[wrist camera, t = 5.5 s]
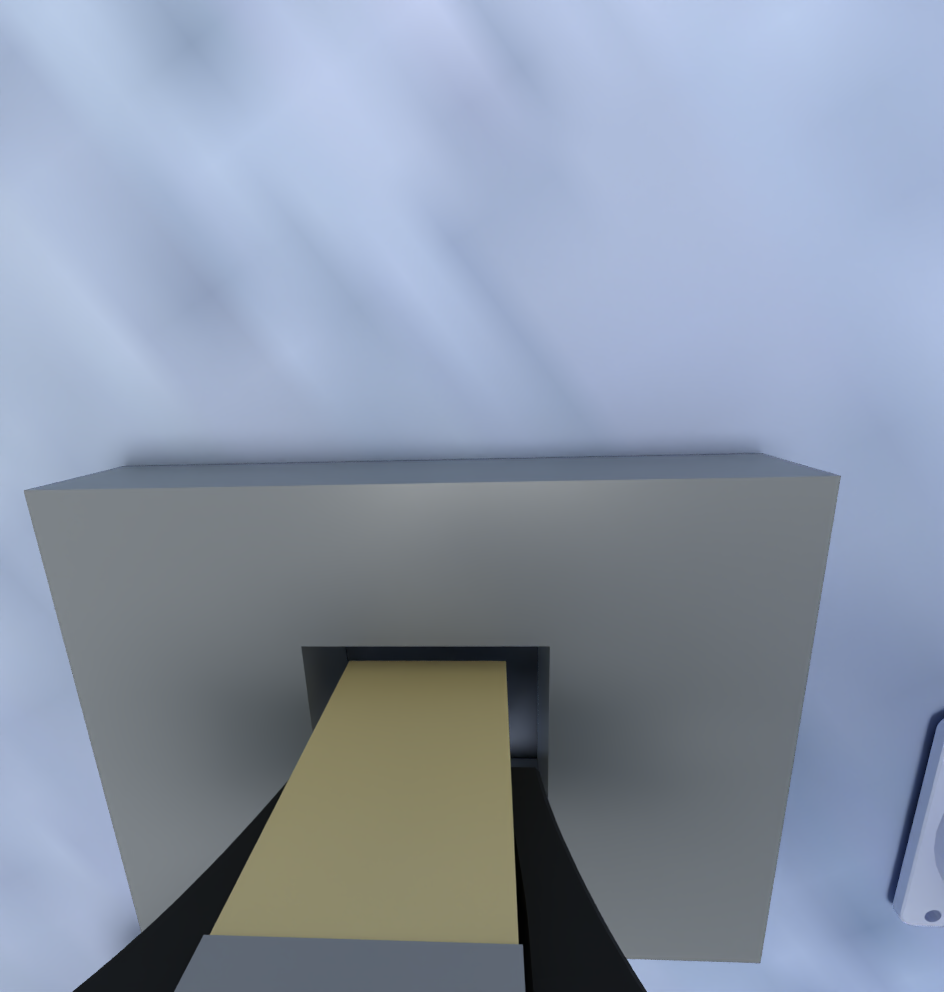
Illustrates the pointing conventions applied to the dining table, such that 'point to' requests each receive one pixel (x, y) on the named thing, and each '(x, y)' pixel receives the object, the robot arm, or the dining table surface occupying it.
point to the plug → (383, 847)
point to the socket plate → (459, 622)
